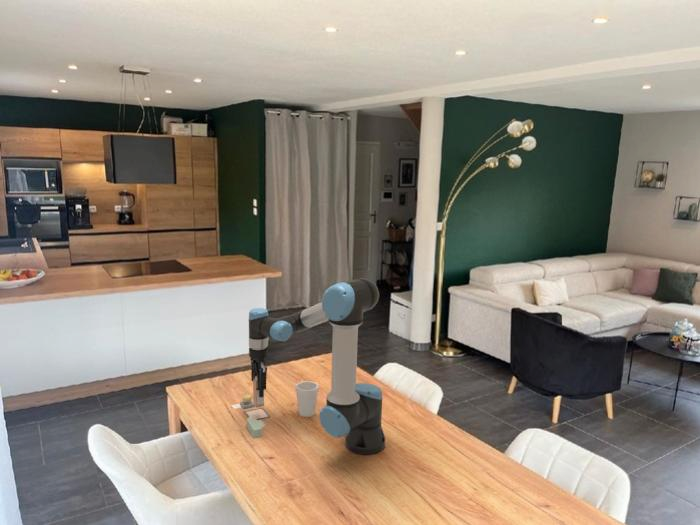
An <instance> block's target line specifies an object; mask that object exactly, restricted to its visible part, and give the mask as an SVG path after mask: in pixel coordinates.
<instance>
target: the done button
mask: <svg viewBox="0 0 700 525" xmlns="http://www.w3.org/2000/svg"><path fill="white" fill-rule="evenodd" d="M252 396H253V394H251V393H244V394H243V395H242V402H243V401H244V402H249V401H251V400H252V401H253V399H252Z"/></svg>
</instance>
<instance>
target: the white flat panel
mask: <svg viewBox="0 0 700 525" xmlns="http://www.w3.org/2000/svg"><path fill="white" fill-rule="evenodd" d="M265 403H266V401H265V400H264V404H265ZM230 406H231V407H230V408H231V409H232V410H236V409H241V408H242V409H243V410H244V411H243V413H244V414H245V416H246V417H247V418H249V417H252V418H254V417H255V418H256V420H257V421H258V422H259V424H260V425H261V427H262V428H264V427H267V425H266V424H265V423H264V421H263V420H265V419H268V418H271V416H270V414H269V413H268V412H267V411H266V410H265V408H263V407H257V408H256V407H255V406H254V404H253V399H252V400H251V401H249V402H244V401H243V400H242V401H239V403H237V404H232V405H230ZM252 408H254V409H252ZM246 409H247V410H246ZM248 409H249V410H248Z"/></svg>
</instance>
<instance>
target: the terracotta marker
mask: <svg viewBox="0 0 700 525" xmlns="http://www.w3.org/2000/svg"><path fill="white" fill-rule="evenodd" d="M252 385H253V386H252V387H253V388H252V390H253V394H252V396H253V399H252V401H253V404H254V406H255V407H254V408H255V409H258V408H263V407H265V403H264V404H259V405H257V390H256V388H258V383H257V376H255V379H253V381H252Z"/></svg>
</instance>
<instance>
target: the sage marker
mask: <svg viewBox="0 0 700 525" xmlns="http://www.w3.org/2000/svg"><path fill="white" fill-rule="evenodd" d="M245 423H246V429H247V430H248V431H249V433H250V435H251V437H253V438H254V439H255V438H260V437H263V432H264V431H263V430H264V429H263V428H264V427H261V425H260V424H259V422H258V421H257V420H256V418H255V417H254V418H252V417H249V418H248V417H247V418H246V420H245Z"/></svg>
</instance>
